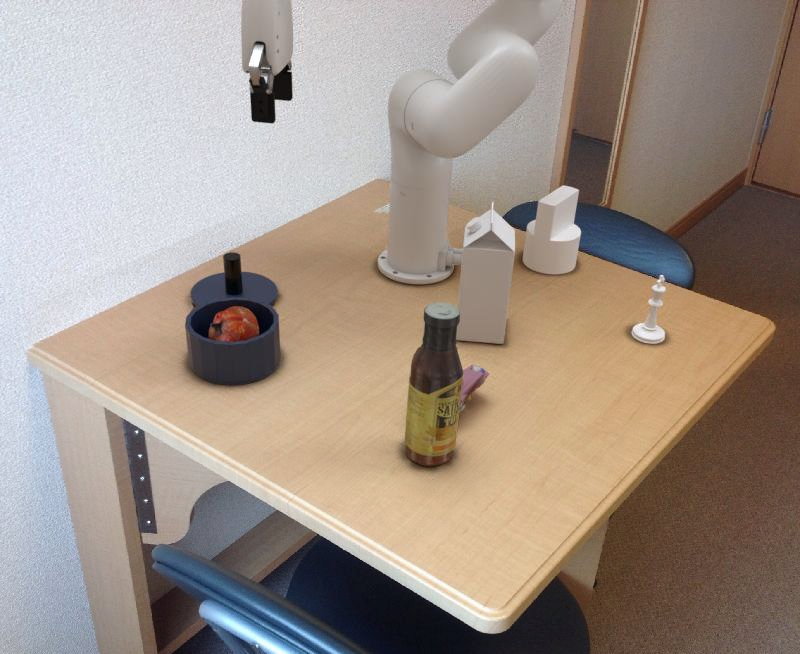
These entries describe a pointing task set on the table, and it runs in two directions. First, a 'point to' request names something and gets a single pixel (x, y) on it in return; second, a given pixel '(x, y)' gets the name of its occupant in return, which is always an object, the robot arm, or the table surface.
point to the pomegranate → (234, 325)
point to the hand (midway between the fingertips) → (272, 110)
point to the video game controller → (471, 382)
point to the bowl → (233, 344)
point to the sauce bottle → (434, 388)
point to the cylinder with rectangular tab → (553, 233)
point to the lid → (234, 284)
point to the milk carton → (485, 278)
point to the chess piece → (652, 318)
